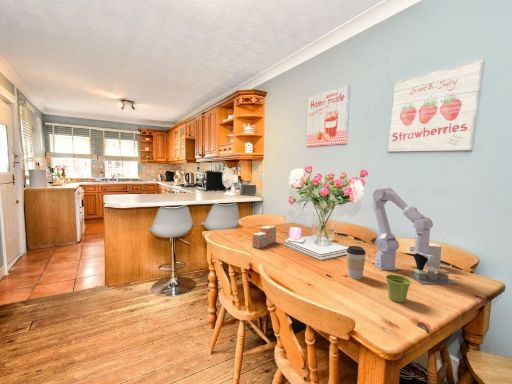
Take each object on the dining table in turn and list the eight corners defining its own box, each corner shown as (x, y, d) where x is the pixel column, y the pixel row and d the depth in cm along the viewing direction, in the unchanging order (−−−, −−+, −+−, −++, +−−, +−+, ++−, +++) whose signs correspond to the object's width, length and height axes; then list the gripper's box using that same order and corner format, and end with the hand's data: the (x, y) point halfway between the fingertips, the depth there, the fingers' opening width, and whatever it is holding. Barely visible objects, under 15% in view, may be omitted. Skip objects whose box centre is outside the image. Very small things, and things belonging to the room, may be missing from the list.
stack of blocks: (259, 248, 173) (259, 231, 172) (252, 247, 176) (252, 229, 175) (276, 242, 190) (276, 225, 189) (268, 240, 194) (269, 224, 193)
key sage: (418, 279, 123) (418, 272, 123) (413, 275, 127) (413, 269, 127) (426, 279, 124) (427, 272, 123) (421, 275, 128) (421, 269, 127)
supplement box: (440, 269, 139) (441, 246, 138) (425, 268, 140) (426, 245, 139) (433, 264, 146) (435, 243, 145) (419, 263, 147) (420, 242, 146)
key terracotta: (440, 279, 124) (441, 272, 123) (434, 275, 128) (435, 269, 127) (448, 279, 124) (449, 272, 124) (442, 275, 128) (443, 269, 128)
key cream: (429, 276, 124) (430, 269, 123) (424, 273, 127) (424, 266, 127) (437, 276, 124) (438, 269, 123) (432, 273, 128) (432, 266, 127)
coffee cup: (364, 274, 131) (365, 245, 130) (365, 281, 122) (366, 250, 121) (345, 271, 134) (346, 243, 132) (345, 278, 125) (346, 248, 124)
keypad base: (421, 284, 120) (422, 279, 119) (406, 274, 131) (406, 269, 131) (457, 284, 120) (457, 279, 120) (438, 274, 132) (439, 269, 132)
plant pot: (379, 294, 109) (380, 274, 109) (400, 293, 110) (401, 273, 110) (393, 305, 100) (394, 284, 99) (415, 304, 101) (417, 283, 100)
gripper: (441, 246, 117) (439, 275, 118) (420, 238, 131) (418, 264, 133) (426, 246, 117) (424, 275, 118) (406, 238, 131) (405, 264, 132)
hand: (420, 269), depth 125 cm, fingers closed
